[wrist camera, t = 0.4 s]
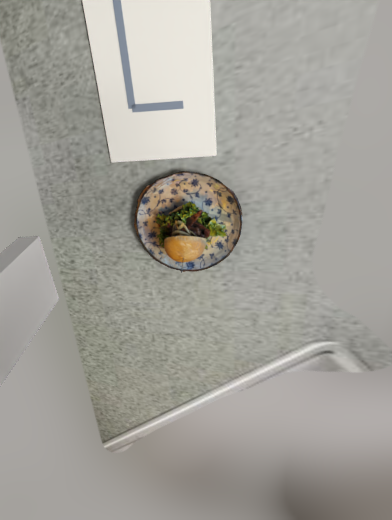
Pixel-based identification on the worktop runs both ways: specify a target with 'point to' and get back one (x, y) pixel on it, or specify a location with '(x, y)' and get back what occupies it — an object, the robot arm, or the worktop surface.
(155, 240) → the salad plate
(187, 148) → the paper
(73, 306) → the worktop surface
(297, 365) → the worktop surface
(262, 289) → the worktop surface
